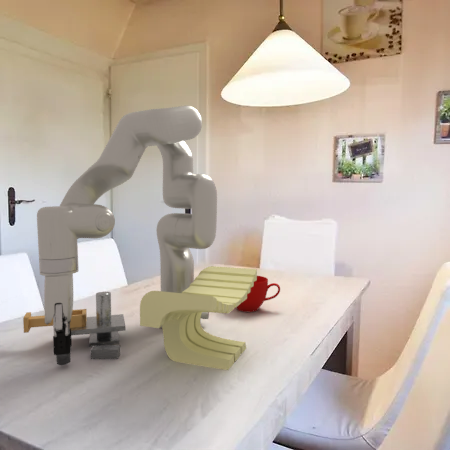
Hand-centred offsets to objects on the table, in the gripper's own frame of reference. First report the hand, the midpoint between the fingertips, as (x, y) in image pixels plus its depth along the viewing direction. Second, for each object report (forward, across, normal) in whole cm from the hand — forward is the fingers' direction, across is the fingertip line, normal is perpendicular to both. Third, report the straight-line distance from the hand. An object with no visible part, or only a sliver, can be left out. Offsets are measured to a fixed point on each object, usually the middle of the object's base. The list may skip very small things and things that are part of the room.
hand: (63, 349), depth 85 cm
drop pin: (+3, 0, 0) cm, 3 cm away
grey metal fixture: (+4, -14, +6) cm, 16 cm away
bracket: (-1, -14, -3) cm, 14 cm away
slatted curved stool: (+4, +2, +31) cm, 31 cm away
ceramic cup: (+5, -29, +55) cm, 62 cm away
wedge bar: (+4, -3, +9) cm, 10 cm away
